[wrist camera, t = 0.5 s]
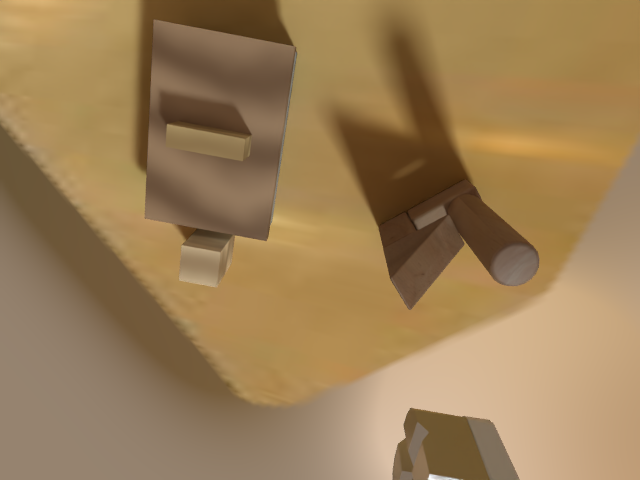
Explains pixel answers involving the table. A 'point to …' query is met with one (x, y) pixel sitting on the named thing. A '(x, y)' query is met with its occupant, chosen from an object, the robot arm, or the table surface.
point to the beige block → (206, 257)
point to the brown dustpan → (452, 242)
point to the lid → (215, 128)
